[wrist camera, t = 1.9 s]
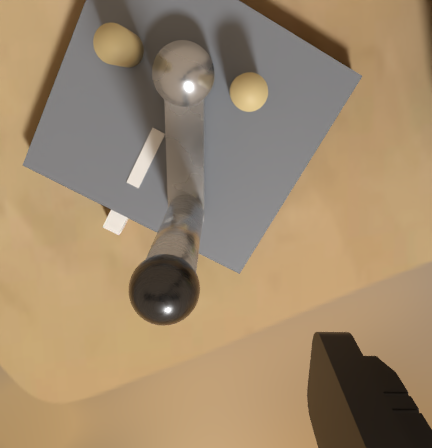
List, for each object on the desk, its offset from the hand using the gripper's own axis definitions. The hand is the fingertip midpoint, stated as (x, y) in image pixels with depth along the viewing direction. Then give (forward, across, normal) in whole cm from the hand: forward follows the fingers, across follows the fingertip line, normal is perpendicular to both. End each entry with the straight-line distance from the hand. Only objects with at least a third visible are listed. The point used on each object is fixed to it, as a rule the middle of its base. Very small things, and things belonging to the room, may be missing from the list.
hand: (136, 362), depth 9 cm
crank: (+13, 0, -3) cm, 13 cm away
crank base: (+15, 0, -4) cm, 15 cm away
